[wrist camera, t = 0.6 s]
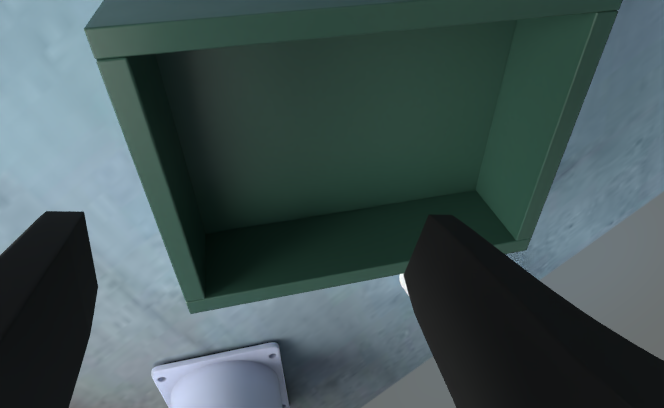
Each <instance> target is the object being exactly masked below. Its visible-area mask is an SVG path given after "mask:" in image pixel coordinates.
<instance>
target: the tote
mask: <svg viewBox="0 0 664 408" xmlns="http://www.w3.org/2000/svg"><path fill="white" fill-rule="evenodd" d="M622 1H623V0H104V1H103V2H102V3H101V5H100V6H99V8H98V9H97V11H96V12H95V14H94V15H93V16H92V18H91V19H90V21H89V22H88V24H87V25H86V27H85V28H84V31H85V33H86V36H87V39H88V41H89V44H90V47H91V49H92V52H93V55H94V57H95V59H97V65H98V67H99V70H100V73H101V75H102V78H103V81H104V84H105V86H106V89H107V92H108V94H109V97H110V100H111V102H112V105H113V108H114V110H115V113H116V116H117V118H118V121H119V124H120V126H121V129H122V132H123V134H124V137H125V140H126V142H127V145H128V148H129V151H130V153H131V156H132V159H133V161H134V164H135V167H136V169H137V172H138V175H139V177H140V180H141V183H142V185H143V188H144V191H145V193H146V196H147V199H148V201H149V204H150V207H151V210H152V212H153V215H154V218H155V220H156V223H157V226H158V228H159V231H160V234H161V236H162V239H163V242H164V244H165V247H166V250H167V252H168V255H169V258H170V260H171V263H172V266H173V268H174V271H175V274H176V277H177V279H178V282H179V285H180V287H181V290H182V293H183V295H184V298H185V300H186V304H187V306H188V309H189V312H190V313H191V314H193V313H198V312H204V311H209V310H214V309H219V308H225V307H230V306H235V305H240V304H246V303H251V302H256V301H261V300H267V299H272V298H277V297H282V296H288V295H293V294H298V293H303V292H309V291H314V290H319V289H324V288H330V287H335V286H340V285H345V284H351V283H356V282H361V281H366V280H372V279H377V278H382V277H387V276H393V275H398V274H403V273H405V270H406V268H407V265H408V263H409V261H410V258H411V256H412V253H413V251H414V249H415V246H416V244H417V241H418V239H419V237H420V234H421V232H422V229H423V227H424V224H425V222H426V220H427V217H428V215H429V214H434V215H453V216H454V217H456V218H457V219H459V220H460V221H462V222H463V223H465V224H466V225H467V226H469V227H470V228H471V229H473V230H474V231H475V232H477V233H478V234H479V235H481V236H482V237H483V238H484V239H486V240H487V241H488V242H490V243H491V244H492V245H493V246H495V247H496V248H497V249H499V250H500V251H501V252H502V253H504V254H508V253H514V252H519V251H524V250H527V248H528V245H529V242H530V240H531V237H532V235H533V232H534V229H535V227H536V224H537V222H538V219H539V216H540V214H541V211H542V209H543V206H544V203H545V201H546V198H547V196H548V193H549V190H550V188H551V185H552V183H553V180H554V177H555V175H556V172H557V170H558V167H559V164H560V162H561V159H562V156H563V154H564V151H565V149H566V146H567V143H568V141H569V138H570V136H571V133H572V130H573V128H574V125H575V123H576V120H577V117H578V115H579V112H580V110H581V107H582V104H583V102H584V99H585V97H586V94H587V91H588V89H589V86H590V84H591V81H592V78H593V76H594V73H595V71H596V68H597V65H598V63H599V60H600V58H601V55H602V52H603V50H604V47H605V44H606V42H607V39H608V37H609V34H610V31H611V29H612V26H613V24H614V21H615V18H616V16H617V13H618V11H617V10H619V8H620V6H621V3H622Z"/></svg>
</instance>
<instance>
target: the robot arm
mask: <svg viewBox="0 0 664 408" xmlns="http://www.w3.org/2000/svg"><path fill="white" fill-rule="evenodd" d="M404 279H405V283H406V286H407V290H408V294H409V297H410V300H411V303H412V307H413V310H414V313H415V315H416V318H417V320H418V323H419V325H420V327H421V329H422V332H423V334H424V336H425V339H426V341H427V343H428V345H429V348H430V350H431V352H432V354H433V356H434V359H435V361H436V363H437V365H438V367H439V369H440V372H441V374H442V376H443V378H444V381H445V383H446V385H447V387H448V389H449V392H450V394H451V396H452V398H453V401H454V403H455V405H456V408H664V361H663V360H661V359H659V358H658V357H656V356H654V355H652V354H650V353H649V352H647V351H645V350H644V349H642V348H640V347H638V346H637V345H635V344H633V343H632V342H630V341H628V340H627V339H625V338H624V337H622V336H620V335H619V334H617V333H616V332H614V331H612V330H611V329H609V328H607V327H606V326H604V325H603V324H601V323H599V322H598V321H596V320H595V319H593V318H592V317H590V316H589V315H587V314H586V313H584V312H583V311H581V310H580V309H578V308H577V307H575V306H574V305H573V304H571V303H570V302H568V301H567V300H565V299H564V298H563V297H561V296H560V295H558V294H557V293H556V292H554V291H553V290H551V289H550V288H549V287H547V286H546V285H544V284H543V283H542V282H540V281H539V280H538V279H536V278H535V277H534V276H532V275H531V274H530V273H528V272H527V271H526V270H525V269H523V268H522V267H521V266H519V265H518V264H517V263H515V262H514V261H513V260H511V259H510V258H509V257H508V256H506V255H505V254H504V253H502V252H501V251H500V250H499V249H497V248H496V247H495V246H493V245H492V244H491V243H490V242H488V241H487V240H486V239H484V238H483V237H482V236H481V235H479V234H478V233H477V232H475V231H474V230H473V229H471V228H470V227H469V226H467V225H466V224H465V223H463V222H462V221H460V220H459V219H457V218H456V217H454V216H453V215H434V214H429V215H428V217H427V220H426V222H425V224H424V227H423V229H422V232H421V234H420V237H419V239H418V241H417V244H416V246H415V249H414V251H413V253H412V256H411V258H410V261H409V263H408V265H407V268H406V270H405V273H404ZM97 289H98V284H97V279H96V274H95V268H94V263H93V258H92V252H91V247H90V242H89V237H88V231H87V226H86V221H85V215H84V212H57V211H46V212H45V213H44V214H43V215H41V216H40V217H39V218H38V219H37V220H36V221H35V222H34V223H33V224H32V225H31V226H30V227H29V228H28V229H27V230H26V231H25V232H24V233H23V234H22V235H21V236H20V237H19V238H18V239H17V240H15V241H14V242H13V243H12V244H11V245H10V246H9V247H8V248H7V249H6V250H5V251H4V252H3V253H2V254H1V255H0V408H69V404H70V401H71V398H72V394H73V391H74V388H75V385H76V381H77V378H78V374H79V371H80V368H81V364H82V361H83V358H84V354H85V351H86V347H87V344H88V340H89V337H90V332H91V326H92V321H93V315H94V309H95V302H96V296H97ZM151 376H152V378H153V380H154V382H155V383H156V385H157V387H158V389H159V391H160V393H161V394H162V396H163V398H164V400H165V402H166V403H167V405H168V407H169V408H289V402H288V396H287V390H286V384H285V378H284V373H283V367H282V361H281V355H280V349H279V345H278V344H277V343H274V342H271V343H266V344H261V345H256V346H251V347H246V348H242V349H237V350H232V351H227V352H222V353H217V354H213V355H208V356H203V357H198V358H193V359H188V360H184V361H179V362H174V363H169V364H164V365H159V366H156V367H154V368H153V369H152V373H151Z"/></svg>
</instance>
